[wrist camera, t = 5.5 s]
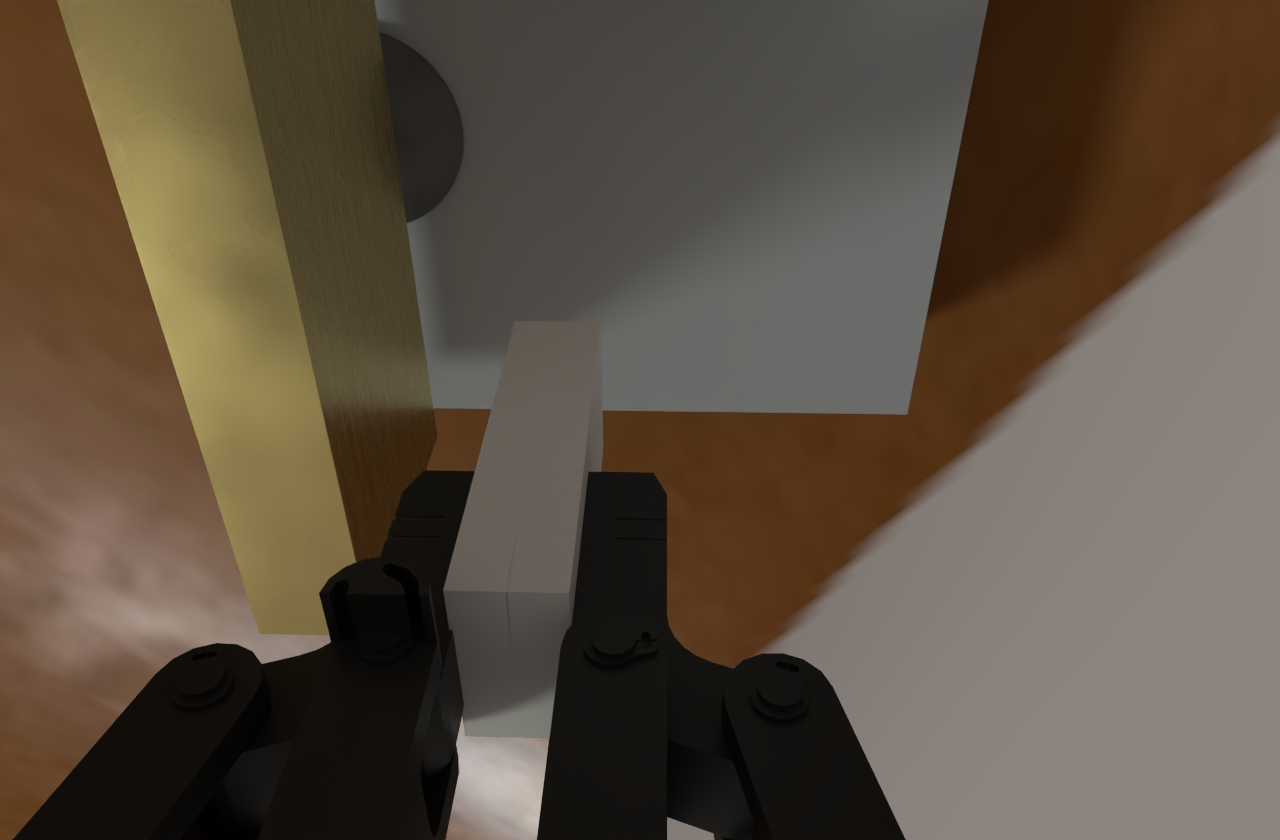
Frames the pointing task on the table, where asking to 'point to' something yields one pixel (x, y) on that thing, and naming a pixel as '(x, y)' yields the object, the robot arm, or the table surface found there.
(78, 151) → the table surface
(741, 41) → the housing
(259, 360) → the yellow rectangular block
